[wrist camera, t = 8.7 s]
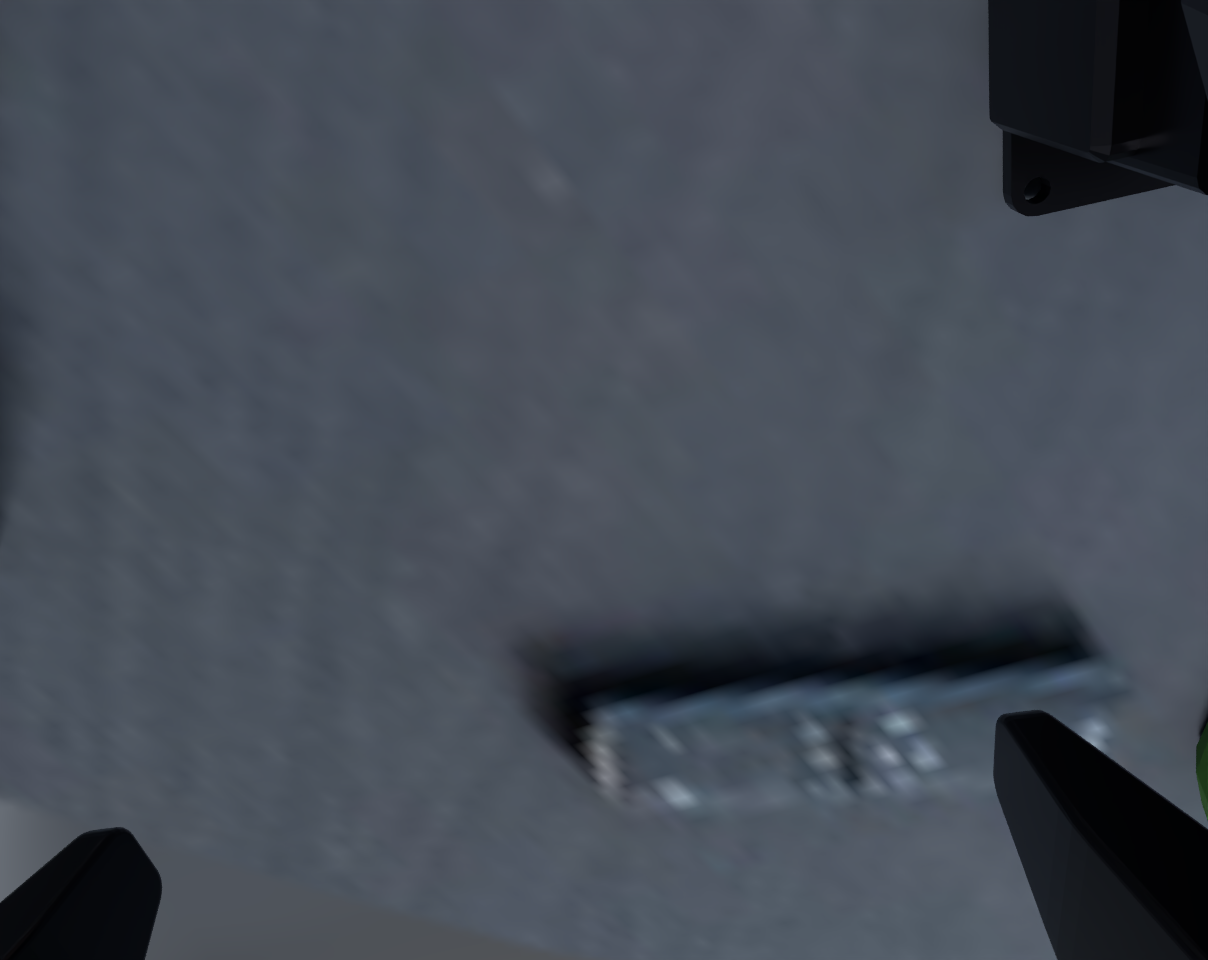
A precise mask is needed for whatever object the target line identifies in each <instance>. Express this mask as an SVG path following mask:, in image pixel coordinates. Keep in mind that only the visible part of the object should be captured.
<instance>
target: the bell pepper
mask: <svg viewBox="0 0 1208 960" xmlns="http://www.w3.org/2000/svg"><path fill="white" fill-rule="evenodd" d="M1196 774H1197V780H1198V785H1199V790H1200V796H1201V801H1202V805H1203V808H1204V811H1205V814H1206V817H1207V820H1208V722H1207V724H1206V727H1205V729H1204V731H1203V733H1202V735H1201V738H1200V740H1199V742H1198V744H1197V747H1196Z"/></svg>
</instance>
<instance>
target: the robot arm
mask: <svg viewBox="0 0 1208 960" xmlns="http://www.w3.org/2000/svg"><path fill="white" fill-rule="evenodd" d="M988 9H989V108H990V120H991V121H992V122H993V123H994V124H996V125H997V126H998V127H999V128H1001V129H1002V130H1003V195H1004V199H1005V202H1006V203H1007V205H1008V206H1009V207H1010V208H1011V209H1013V210H1015V211H1016V212H1018V213H1021V214H1023V215H1025V216H1039V215H1043V214H1048V213H1052V212H1057V211H1061V210H1066V209H1070V208H1075V207H1079V206H1083V205H1088V204H1092V203H1097V202H1101V201H1106V200H1110V199H1115V198H1119V197H1124V196H1128V195H1133V194H1137V193H1141V192H1146V191H1150V190H1155V189H1159V188H1164V187H1168V186H1173V185H1178V186H1181V187H1184V188H1187V189H1190V190H1193V191H1196V192H1199V193H1202V194H1205V195H1208V0H988ZM1037 177H1041V181H1042V186H1041V190H1040V191H1039V193H1038V194H1037V195H1036V196H1035V197H1033V198H1031V199H1029V200H1026V199H1025V196H1024V191H1025V187H1026V185H1027V184H1028V183H1029V182H1030V181H1031V180H1033V179H1035V178H1037ZM993 776H994V783H995V788H996V792H997V796H998V799H999V802H1000V804H1001V807H1002V810H1003V813H1004V815H1005V818H1006V821H1007V824H1008V826H1009V829H1010V832H1011V835H1012V838H1013V840H1014V843H1015V846H1016V849H1017V851H1018V854H1019V857H1020V860H1021V862H1022V865H1023V868H1024V871H1025V873H1026V876H1027V879H1028V882H1029V884H1030V887H1031V890H1032V893H1033V896H1034V898H1035V901H1036V904H1037V907H1038V909H1039V912H1040V915H1041V918H1042V920H1043V923H1044V926H1045V929H1046V931H1047V934H1048V937H1049V939H1050V942H1051V944H1052V947H1053V950H1054V952H1055V955H1056V957H1057V959H1058V960H1208V829H1207V828H1205V827H1204V826H1203V825H1201V824H1200V823H1199V822H1197V821H1196V820H1195V819H1193V818H1192V817H1190V816H1189V815H1188V814H1186V813H1185V812H1184V811H1182V810H1181V809H1179V808H1178V807H1177V806H1175V805H1174V804H1173V803H1171V802H1170V801H1168V800H1167V799H1166V798H1164V797H1163V796H1162V795H1160V794H1159V793H1157V792H1156V791H1155V790H1153V789H1152V788H1151V787H1149V786H1148V785H1146V784H1145V783H1144V782H1142V781H1141V780H1140V779H1138V778H1137V777H1135V776H1134V775H1133V774H1131V773H1130V772H1129V771H1127V770H1126V769H1125V768H1123V767H1122V766H1120V765H1119V764H1118V763H1116V762H1115V761H1114V760H1112V759H1111V758H1109V757H1108V756H1107V755H1105V754H1104V753H1103V752H1101V751H1100V750H1098V749H1097V748H1096V747H1094V746H1093V745H1092V744H1090V743H1089V742H1087V741H1086V740H1085V739H1083V738H1082V737H1081V736H1079V735H1078V734H1076V733H1075V732H1074V731H1072V730H1071V729H1070V728H1068V727H1067V726H1065V725H1064V724H1063V723H1061V722H1060V721H1059V720H1057V719H1056V718H1055V717H1053V716H1052V715H1050V714H1049V713H1046V712H1044V711H1041V710H1031V711H1023V712H1015V713H1007V714H1003V715H1001V716H1000V717H999V718H998V720H997V723H996V731H995V750H994V769H993ZM161 894H162V883H161V877H160V874H159V872H158V870H157V869H156V868H155V866H154V865H153V863H152V862H151V860H150V859H149V857H148V856H147V855H146V853H145V852H144V850H143V849H142V847H141V846H140V844H139V843H138V841H137V840H136V839H135V837H134V836H133V834H132V833H131V832H130V831H129V830H127V829H125V828H122V827H115V828H107V829H99V830H92V831H88V832H86V833H83V834H81V835H80V836H78V837H77V838H76V839H74V840H73V841H72V842H71V843H70V844H69V845H67V847H65V848H64V849H63V850H62V851H60V852H59V853H58V854H57V855H56V856H54V857H53V858H52V859H51V860H50V861H49V862H47V863H46V864H45V865H44V866H43V867H42V868H40V869H39V870H38V871H37V872H36V873H35V874H33V875H32V876H31V877H30V878H29V879H28V880H26V881H25V882H24V883H23V884H22V885H20V886H19V887H18V888H17V889H16V890H15V891H14V892H12V893H11V894H10V895H9V896H7V897H6V898H5V899H4V900H3V901H2V902H1V903H0V960H145V957H146V953H147V950H148V945H149V942H150V938H151V934H152V931H153V927H154V923H155V919H156V915H157V911H158V907H159V904H160V900H161Z"/></svg>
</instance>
